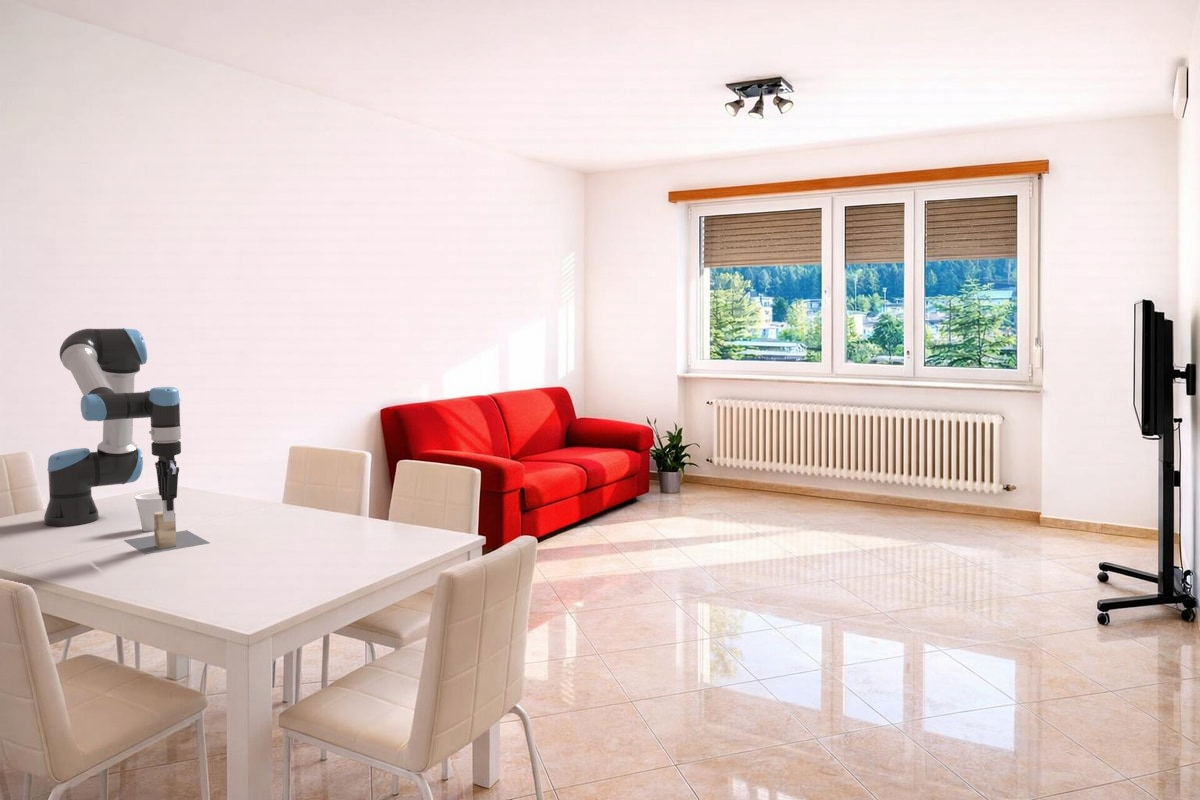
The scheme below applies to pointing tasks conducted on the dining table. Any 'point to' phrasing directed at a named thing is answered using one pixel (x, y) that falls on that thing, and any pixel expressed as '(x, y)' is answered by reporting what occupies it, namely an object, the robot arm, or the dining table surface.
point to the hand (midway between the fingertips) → (168, 521)
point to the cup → (148, 509)
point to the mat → (182, 541)
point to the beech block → (164, 532)
